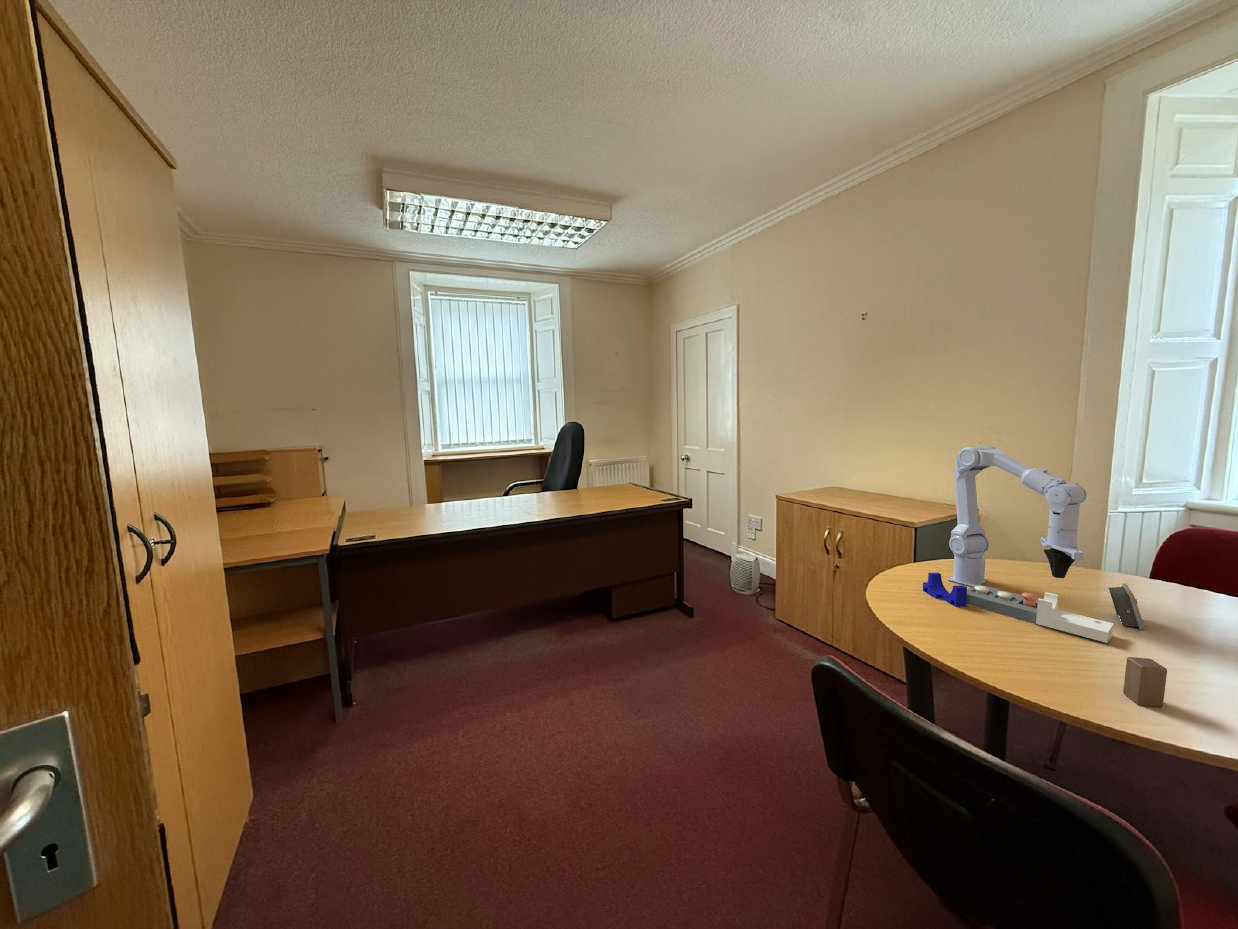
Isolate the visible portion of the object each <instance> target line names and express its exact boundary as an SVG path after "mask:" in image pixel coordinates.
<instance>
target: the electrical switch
mask: <svg viewBox="0 0 1238 929" xmlns="http://www.w3.org/2000/svg"><path fill="white" fill-rule="evenodd" d="M1121 584H1122V586H1115V587H1113V586H1112V587H1108V590H1109V594H1110V598H1111V599H1112V603H1113V607H1114V610H1115V614H1116V616H1117V617H1118V616H1120V619H1121V621H1120V623H1121V622H1122V623H1121V626H1122V627H1137V628H1138V627H1139V628H1138V629H1140V630H1145V625H1144V622H1143V619H1142V616H1141V612H1140V608H1139V606H1138V605H1139V604H1138V599H1136V597H1135V595H1134V593H1133V591H1132V590H1131V588H1130V586H1129V585H1128V584H1127V583H1121ZM1120 619H1119V620H1120Z"/></svg>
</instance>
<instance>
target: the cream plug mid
mask: <svg viewBox="0 0 1238 929" xmlns="http://www.w3.org/2000/svg"><path fill="white" fill-rule="evenodd" d="M1008 592H1009V591H1007V592H1002V591H1000V592H997V596H998V597H999V599H1003V600H1007V601H1011V599H1012V598H1013V595H1012V594H1011V593H1012V592H1011V593H1008Z"/></svg>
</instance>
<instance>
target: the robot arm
mask: <svg viewBox="0 0 1238 929" xmlns="http://www.w3.org/2000/svg"><path fill="white" fill-rule="evenodd" d="M955 459H956V460H955V461H956V463H955V465H954V468H953V477H954V478H953V479H954V492H955V506H956V520H957V525H956V526H955V527H954V528H953V529H952V530H951V532H950V539H949V542H948V545H949V548H950V550H951V552H952V554H953V555H954V556H953V569H952V570H953V573H952V575H953V576H950V577H948V578H947V580H948V581H950V582H954V583H958V584H961V585H964V586H969V587H973V586H975V585H977V584H979V585H982V584H985V583H986V582H988V581H989V579H988V578H985V577H986V576H985V573H986V559H985V557H984V555H985V553H986V552H987V551H988V549H990V542H989V539H988V537H987V536H986V530H985V529H984V528H983V527H982V526H980V524H979V522H980V521H979V511H978V510H979V509H978V498H977V496H978V495H977V493H978V492H977V482H976V480H977V479H976V476H977V475H979V474H980V473H981V472H982V471H984V470H986V469H988V468H990V467H997V468H999V469H1001V470H1003V471H1005V472H1007V473H1009V474H1011V475H1014V476H1015V477H1017V478H1020V479H1021V482H1022V485H1023V486H1025V487H1027V488H1029V489H1031V490H1032V491H1034V492H1036V493H1038V494H1039V495H1041V496H1043V497H1045V499H1046V501H1047V503H1048V509H1049V517H1048V527H1047V536H1041V537H1040V544H1041V545H1042V546H1043V547H1046V548H1049V549H1043V553H1044V555H1045V556H1046V558H1047V560H1048V563H1049V566H1050V567H1049V568H1050V571H1051V575H1052V577H1053V578H1055V579H1065V577H1066V575H1067V573H1068V571H1069V569H1070V567H1071V566H1072V565H1073V563H1074V562H1075V561H1076V560H1077V561H1078V560H1080V561H1083V560H1084V556H1085V552H1083V551H1082V550H1081V549H1080V548H1079V547H1078V546H1077V539H1078V528H1079V517H1080V509H1081V508H1080V506H1081V504H1082V503H1083V502H1085V501H1086V499H1087V491H1086V489H1085V487H1083V486H1082V485H1081V484H1080V483H1078V482H1066V479H1065V478H1062V477H1060V478H1059V477H1057V476H1055V475H1053V474H1051V473H1049V472H1048V471H1049V470H1048V469H1047V468H1045V467H1044V468H1043V467H1042V468H1039V467H1034V468H1030V467H1028V466H1027V465H1025V464H1023V463H1022V462H1020V461H1018V460H1017V459H1014V458H1013V457H1011V456H1010V455H1008V454H1006V453H1005V452H1004V451H1003V450H1002V449H999V448H997V447H996V446H993V445H985V446H975V447H974V446H973V447H972V446H971V447H970V446H967V447H964V448H962V449H961V450H959V451H958V452H957V453H956V455H955Z"/></svg>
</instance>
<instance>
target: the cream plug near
mask: <svg viewBox="0 0 1238 929" xmlns="http://www.w3.org/2000/svg"><path fill="white" fill-rule="evenodd" d="M984 586H985V585H983V586H975V590H976V592H977V593H980V594H984V595H987V593H988V592H989V588H987V587H988V586H987V587H984Z"/></svg>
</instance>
